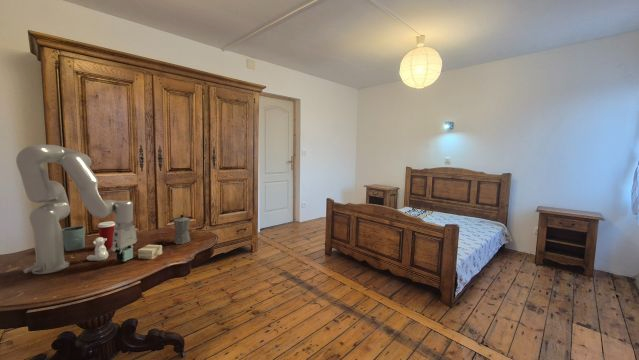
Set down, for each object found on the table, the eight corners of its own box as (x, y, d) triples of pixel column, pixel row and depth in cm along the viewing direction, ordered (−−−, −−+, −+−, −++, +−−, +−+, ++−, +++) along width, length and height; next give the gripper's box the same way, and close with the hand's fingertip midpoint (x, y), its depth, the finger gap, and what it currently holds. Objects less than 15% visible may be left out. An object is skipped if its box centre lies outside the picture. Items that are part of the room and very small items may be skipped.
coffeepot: (190, 244, 165) (190, 216, 163) (173, 246, 161) (172, 217, 159) (190, 237, 179) (189, 211, 177) (174, 238, 174) (173, 212, 172)
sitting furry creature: (107, 254, 147) (106, 233, 146) (115, 257, 143) (114, 236, 142) (86, 260, 139) (84, 238, 137) (93, 263, 135) (92, 241, 133)
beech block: (152, 259, 142) (152, 250, 142) (138, 258, 143) (137, 249, 142) (162, 253, 150) (161, 245, 150) (148, 252, 151) (148, 244, 150)
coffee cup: (120, 245, 160) (118, 221, 158) (108, 250, 152) (106, 225, 150) (107, 244, 161) (106, 220, 159) (94, 249, 153) (93, 224, 151)
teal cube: (124, 261, 135) (124, 252, 135) (116, 260, 136) (116, 250, 135) (132, 257, 140) (132, 248, 140) (124, 256, 141) (124, 247, 140)
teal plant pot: (77, 251, 150) (76, 230, 148) (57, 251, 148) (55, 231, 147) (90, 244, 160) (89, 225, 158) (71, 245, 158) (70, 225, 157)
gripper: (115, 229, 127) (116, 265, 129) (144, 221, 144) (144, 253, 146) (102, 228, 128) (102, 263, 130) (132, 219, 145) (132, 251, 147)
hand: (124, 257), depth 138 cm, fingers closed on teal cube, 5 cm apart
